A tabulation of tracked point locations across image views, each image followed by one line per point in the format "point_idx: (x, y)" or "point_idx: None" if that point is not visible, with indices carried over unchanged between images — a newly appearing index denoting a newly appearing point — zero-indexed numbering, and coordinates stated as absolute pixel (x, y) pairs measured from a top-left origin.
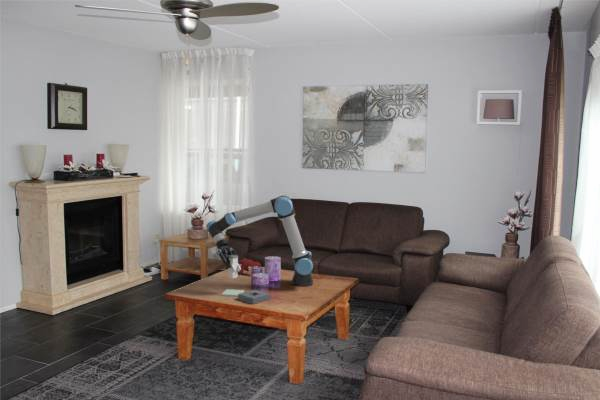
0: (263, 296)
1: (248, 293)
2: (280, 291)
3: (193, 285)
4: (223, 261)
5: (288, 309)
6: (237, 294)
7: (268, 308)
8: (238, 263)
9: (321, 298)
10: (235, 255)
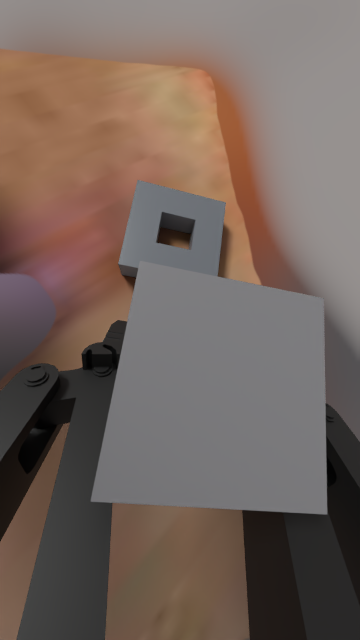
0: (174, 191)
1: (185, 253)
2: (6, 216)
3: None
4: (330, 467)
5: (190, 113)
6: None
7: (220, 162)
8: (111, 336)
9: (15, 64)
10: (144, 367)
